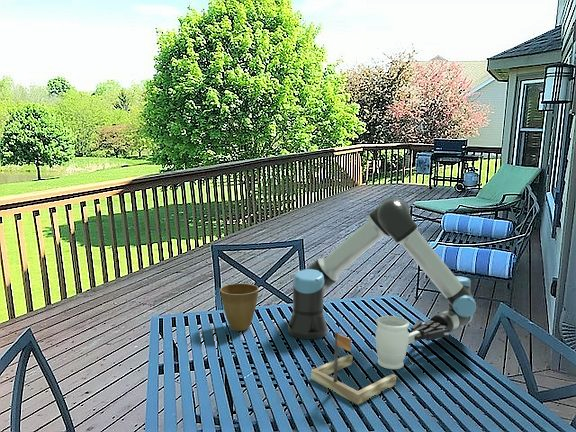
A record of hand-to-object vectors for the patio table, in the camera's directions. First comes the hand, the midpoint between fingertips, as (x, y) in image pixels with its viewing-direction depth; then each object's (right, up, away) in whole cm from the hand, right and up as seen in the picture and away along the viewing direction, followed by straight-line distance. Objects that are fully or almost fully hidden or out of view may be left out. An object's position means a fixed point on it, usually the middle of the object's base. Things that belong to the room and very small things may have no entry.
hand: (407, 339), depth 160 cm
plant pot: (-60, -2, +26) cm, 65 cm away
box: (-20, -9, -15) cm, 26 cm away
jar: (-6, -7, -3) cm, 10 cm away
